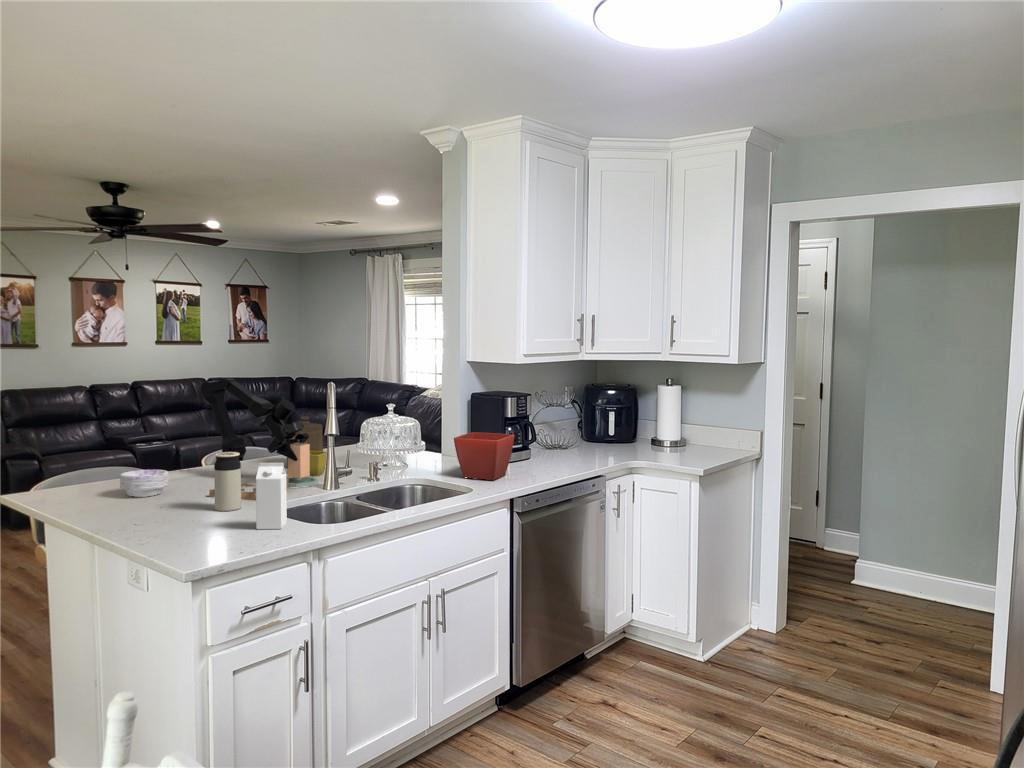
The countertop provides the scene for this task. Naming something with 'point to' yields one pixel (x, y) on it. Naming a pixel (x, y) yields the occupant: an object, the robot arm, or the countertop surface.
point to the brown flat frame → (246, 494)
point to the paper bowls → (144, 482)
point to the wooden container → (312, 435)
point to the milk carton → (271, 496)
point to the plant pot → (484, 454)
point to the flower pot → (317, 462)
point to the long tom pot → (299, 461)
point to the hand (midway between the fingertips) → (301, 459)
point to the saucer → (302, 481)
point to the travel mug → (227, 481)
